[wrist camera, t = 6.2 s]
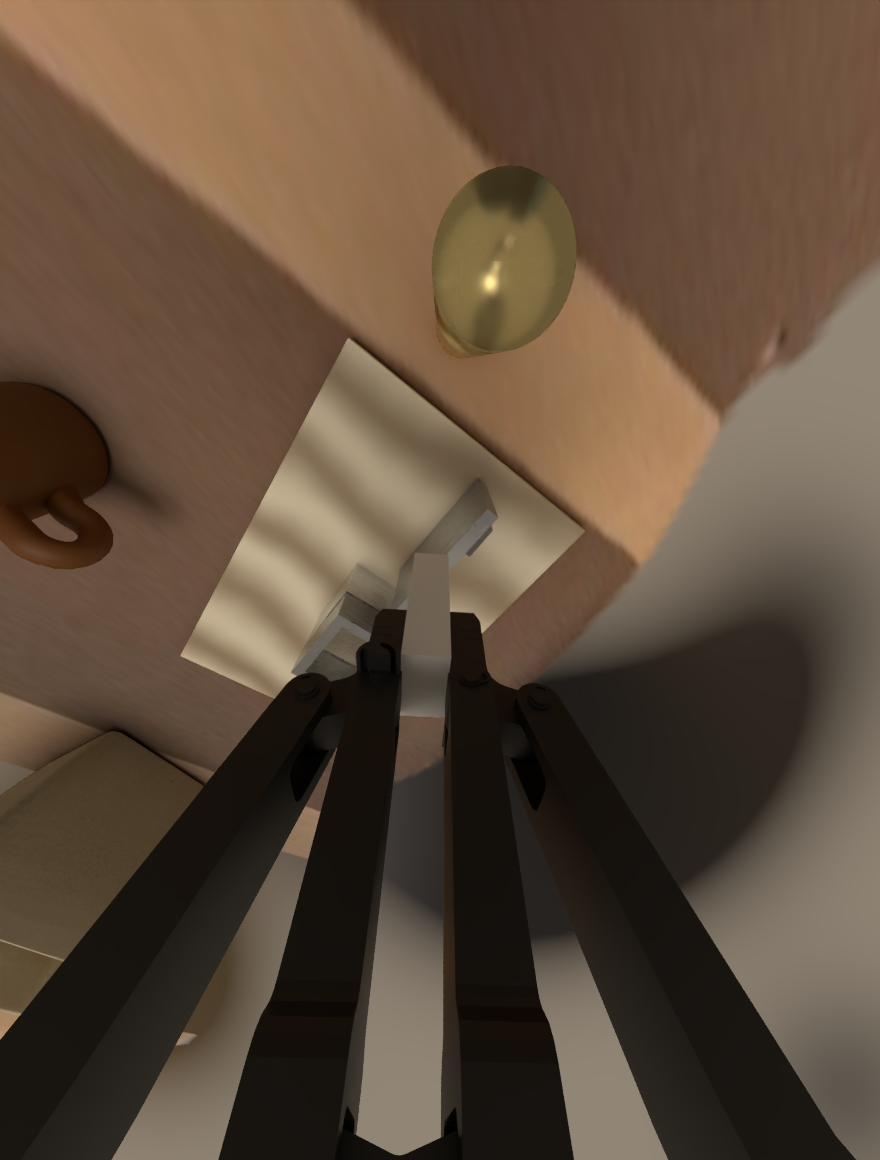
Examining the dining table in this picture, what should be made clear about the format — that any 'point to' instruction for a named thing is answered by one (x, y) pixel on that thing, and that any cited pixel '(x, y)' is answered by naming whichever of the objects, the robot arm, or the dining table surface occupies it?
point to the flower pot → (76, 850)
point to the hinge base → (371, 594)
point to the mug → (49, 478)
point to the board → (367, 522)
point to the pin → (501, 262)
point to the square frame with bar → (400, 581)
